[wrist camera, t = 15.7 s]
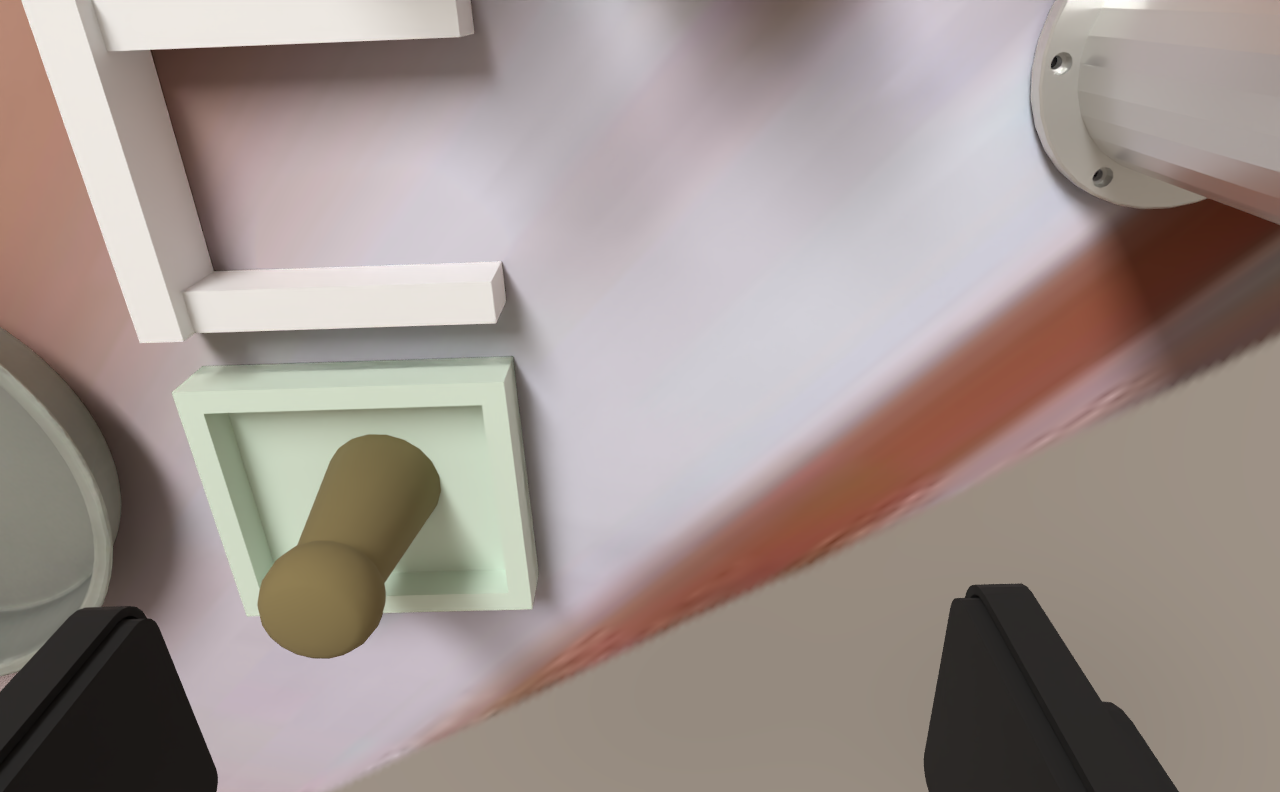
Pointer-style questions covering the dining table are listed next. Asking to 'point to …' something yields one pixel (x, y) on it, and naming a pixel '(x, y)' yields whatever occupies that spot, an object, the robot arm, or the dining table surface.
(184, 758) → the robot arm
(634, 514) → the dining table surface
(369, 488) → the cork
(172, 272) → the dock
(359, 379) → the tray
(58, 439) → the cake pan
